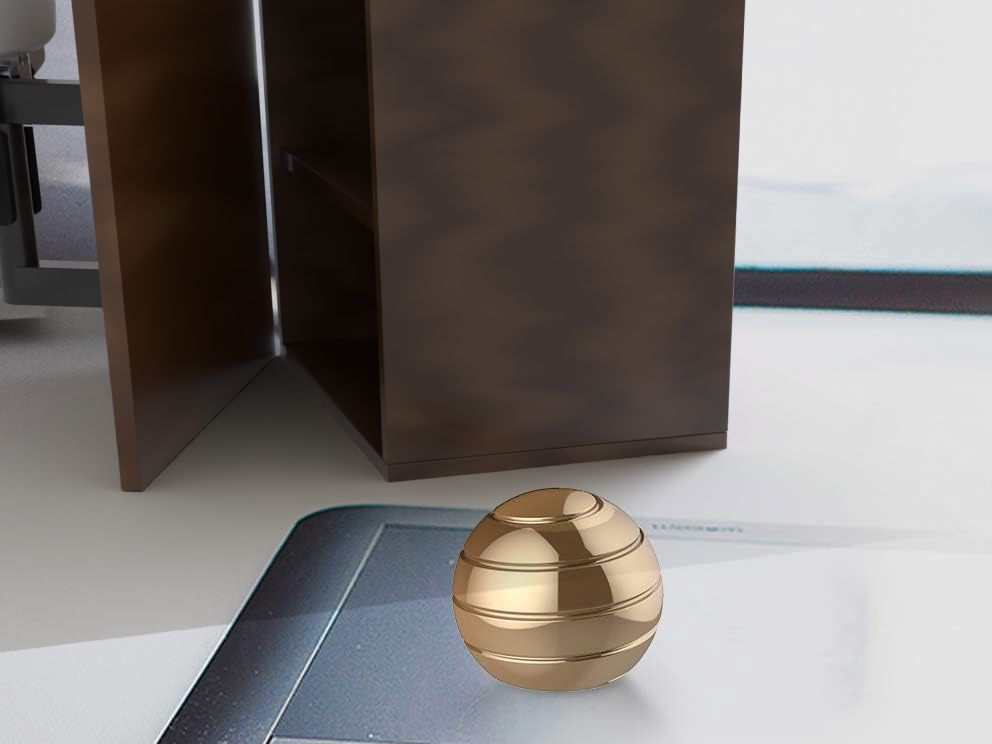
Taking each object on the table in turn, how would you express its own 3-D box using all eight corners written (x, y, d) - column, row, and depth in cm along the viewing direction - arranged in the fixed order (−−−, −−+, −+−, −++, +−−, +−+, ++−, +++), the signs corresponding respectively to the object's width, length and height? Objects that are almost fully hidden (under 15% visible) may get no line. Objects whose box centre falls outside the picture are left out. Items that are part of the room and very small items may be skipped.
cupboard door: (-3, 486, 83) (-74, -55, 73) (163, 351, 107) (125, -69, 97) (142, 491, 82) (89, -50, 73) (276, 355, 106) (249, -66, 97)
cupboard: (388, 484, 85) (367, -49, 75) (280, 356, 107) (253, -69, 97) (727, 450, 91) (748, -46, 82) (559, 336, 113) (560, -65, 103)
